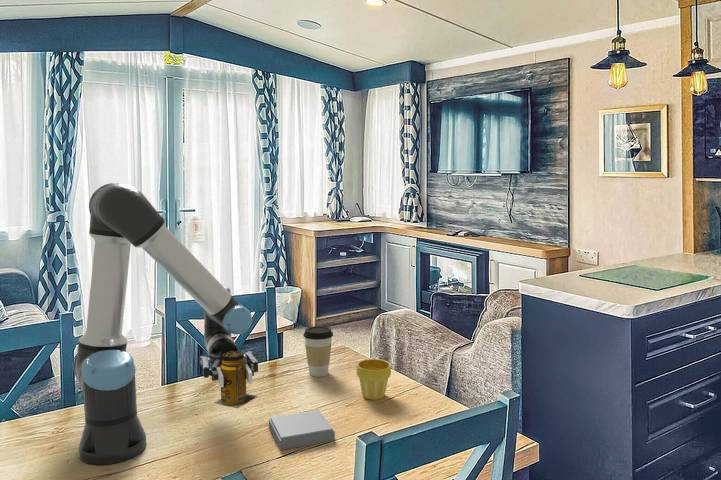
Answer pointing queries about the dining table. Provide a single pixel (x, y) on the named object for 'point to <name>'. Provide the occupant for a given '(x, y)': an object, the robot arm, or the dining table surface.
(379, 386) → the plant pot
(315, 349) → the coffee cup
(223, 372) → the condiment
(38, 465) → the dining table surface
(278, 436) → the grey square coaster
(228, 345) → the robot arm
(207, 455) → the dining table surface
